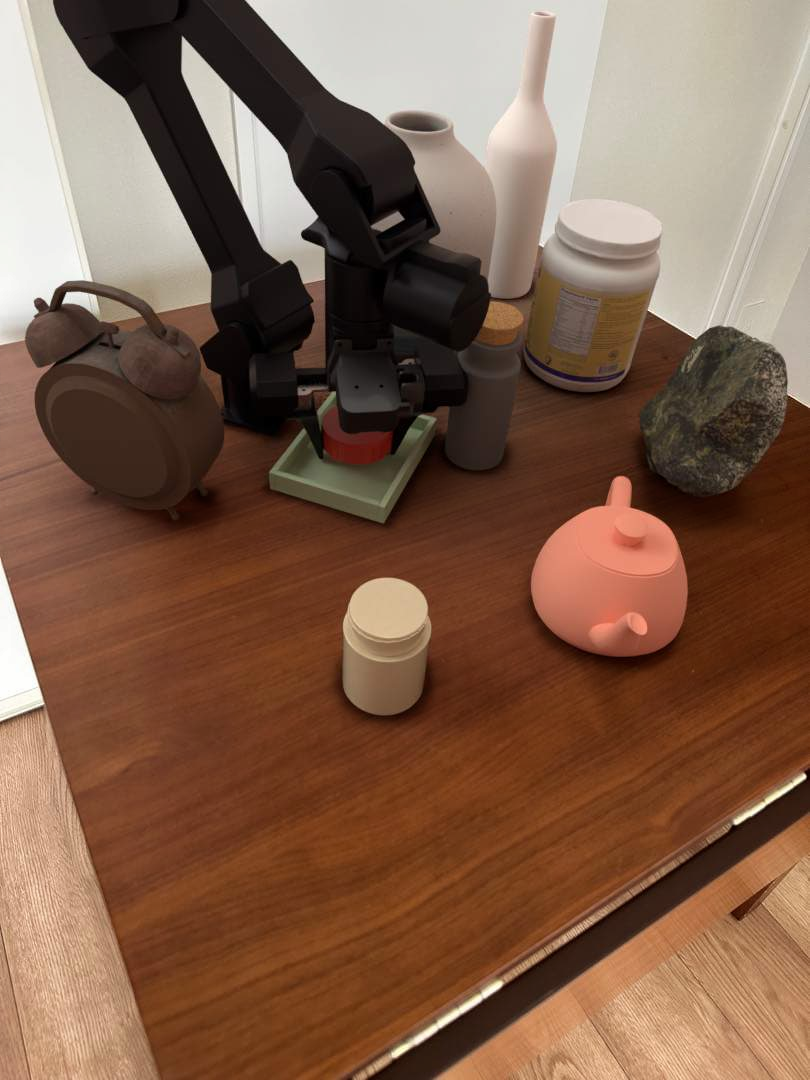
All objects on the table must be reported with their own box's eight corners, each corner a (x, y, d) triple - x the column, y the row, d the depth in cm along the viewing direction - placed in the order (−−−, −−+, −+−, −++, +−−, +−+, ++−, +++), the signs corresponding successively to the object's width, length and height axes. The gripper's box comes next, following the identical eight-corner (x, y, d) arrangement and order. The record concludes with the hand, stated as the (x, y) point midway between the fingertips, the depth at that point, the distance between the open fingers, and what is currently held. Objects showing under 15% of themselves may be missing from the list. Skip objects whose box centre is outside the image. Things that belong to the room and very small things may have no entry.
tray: (269, 488, 71) (268, 472, 69) (333, 406, 80) (333, 389, 79) (383, 523, 69) (384, 507, 67) (435, 434, 78) (437, 418, 77)
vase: (388, 295, 97) (399, 82, 80) (503, 344, 91) (542, 122, 74) (299, 350, 87) (290, 118, 70) (421, 408, 81) (443, 169, 64)
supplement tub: (539, 327, 94) (569, 185, 82) (638, 355, 91) (683, 212, 79) (506, 376, 86) (533, 227, 74) (612, 409, 83) (658, 258, 71)
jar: (329, 699, 56) (328, 625, 50) (361, 637, 60) (364, 562, 54) (407, 727, 54) (416, 655, 48) (434, 662, 58) (446, 588, 52)
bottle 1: (499, 476, 74) (527, 337, 64) (439, 465, 75) (457, 325, 64) (506, 439, 78) (533, 303, 68) (449, 429, 79) (467, 292, 68)
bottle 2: (533, 275, 104) (585, 10, 82) (526, 304, 98) (579, 27, 77) (474, 265, 105) (510, 0, 83) (463, 293, 99) (499, 16, 78)
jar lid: (403, 433, 74) (405, 414, 73) (373, 473, 70) (375, 454, 68) (341, 413, 76) (341, 393, 74) (308, 451, 72) (308, 431, 70)
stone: (630, 424, 81) (675, 292, 71) (730, 442, 80) (791, 311, 70) (629, 516, 71) (680, 378, 61) (743, 538, 70) (816, 402, 60)
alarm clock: (242, 489, 70) (219, 284, 56) (201, 542, 66) (164, 331, 51) (103, 449, 73) (48, 243, 59) (55, 496, 68) (-19, 284, 54)
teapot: (667, 548, 69) (703, 466, 62) (687, 723, 56) (735, 643, 49) (531, 527, 69) (552, 443, 63) (521, 694, 57) (546, 612, 50)
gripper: (245, 364, 56) (260, 519, 67) (495, 354, 59) (470, 505, 70) (242, 288, 63) (256, 439, 75) (463, 284, 67) (445, 429, 78)
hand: (356, 454), depth 74 cm, fingers closed on jar lid, 6 cm apart
